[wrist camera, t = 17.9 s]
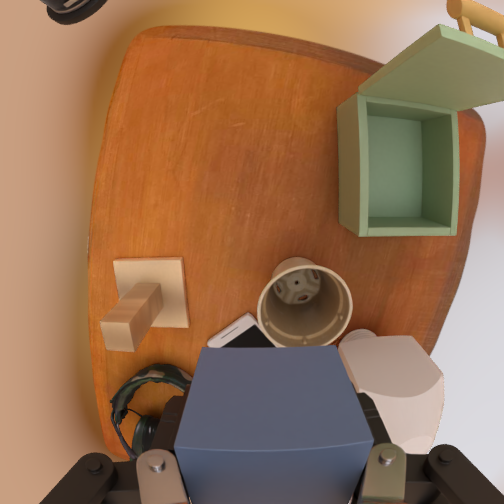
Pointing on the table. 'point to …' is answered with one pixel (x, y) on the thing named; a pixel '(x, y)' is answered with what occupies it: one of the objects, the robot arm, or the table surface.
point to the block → (272, 428)
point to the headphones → (146, 423)
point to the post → (145, 300)
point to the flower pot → (304, 305)
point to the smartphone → (241, 335)
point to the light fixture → (397, 385)
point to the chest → (397, 167)
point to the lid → (448, 63)
